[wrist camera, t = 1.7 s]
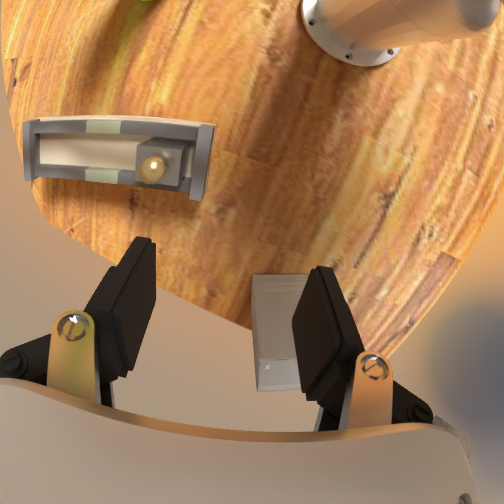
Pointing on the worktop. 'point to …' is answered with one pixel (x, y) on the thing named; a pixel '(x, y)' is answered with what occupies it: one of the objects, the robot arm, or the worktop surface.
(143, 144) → the rider
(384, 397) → the robot arm
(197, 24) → the worktop surface
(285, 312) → the skincare box
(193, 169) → the stand
